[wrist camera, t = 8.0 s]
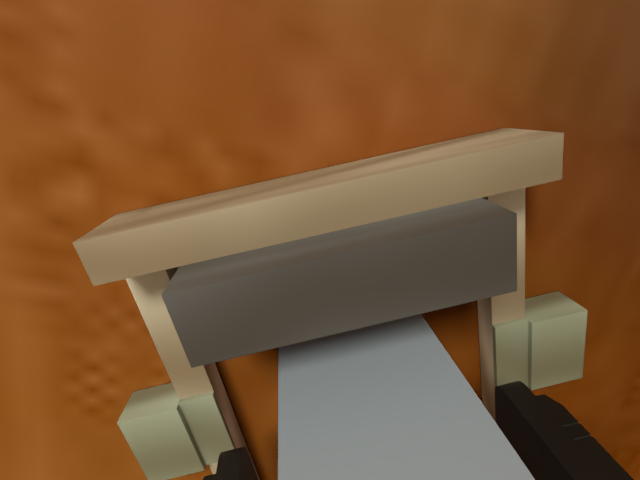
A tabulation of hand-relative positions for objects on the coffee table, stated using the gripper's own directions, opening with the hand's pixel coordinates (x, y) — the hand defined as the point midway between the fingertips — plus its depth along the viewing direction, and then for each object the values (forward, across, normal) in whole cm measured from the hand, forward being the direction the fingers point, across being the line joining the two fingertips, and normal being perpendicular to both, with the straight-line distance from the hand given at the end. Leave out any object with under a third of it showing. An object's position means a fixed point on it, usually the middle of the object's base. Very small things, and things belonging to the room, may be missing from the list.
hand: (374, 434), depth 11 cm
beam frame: (+3, 0, +3) cm, 4 cm away
